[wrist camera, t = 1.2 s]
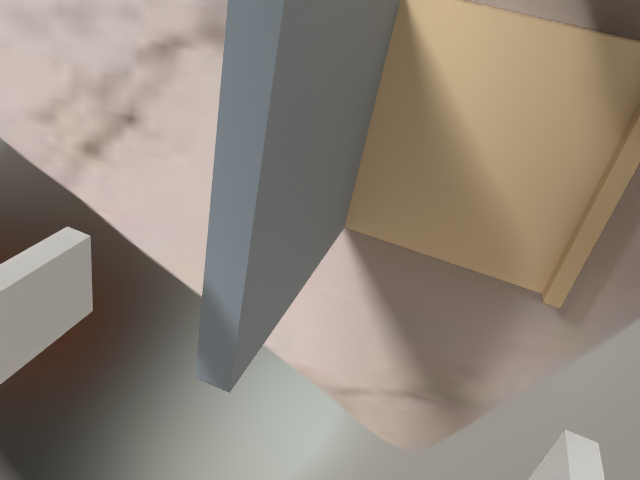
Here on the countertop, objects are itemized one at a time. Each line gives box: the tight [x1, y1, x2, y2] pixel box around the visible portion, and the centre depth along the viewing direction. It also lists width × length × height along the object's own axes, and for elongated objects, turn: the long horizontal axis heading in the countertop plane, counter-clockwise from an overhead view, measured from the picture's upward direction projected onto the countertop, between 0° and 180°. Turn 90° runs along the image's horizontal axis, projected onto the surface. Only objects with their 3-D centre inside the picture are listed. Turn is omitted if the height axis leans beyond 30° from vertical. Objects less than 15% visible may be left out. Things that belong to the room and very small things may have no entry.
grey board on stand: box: [195, 0, 640, 392], centre depth 22 cm, size 14×15×18 cm
